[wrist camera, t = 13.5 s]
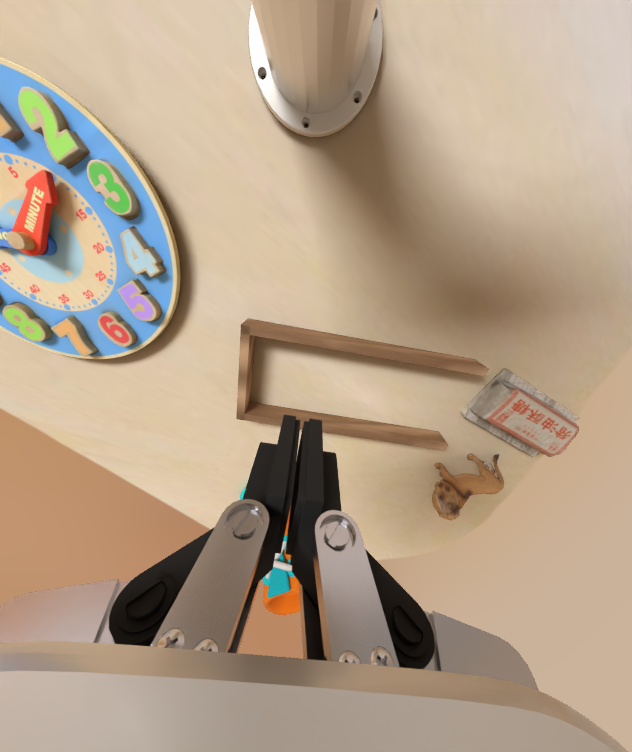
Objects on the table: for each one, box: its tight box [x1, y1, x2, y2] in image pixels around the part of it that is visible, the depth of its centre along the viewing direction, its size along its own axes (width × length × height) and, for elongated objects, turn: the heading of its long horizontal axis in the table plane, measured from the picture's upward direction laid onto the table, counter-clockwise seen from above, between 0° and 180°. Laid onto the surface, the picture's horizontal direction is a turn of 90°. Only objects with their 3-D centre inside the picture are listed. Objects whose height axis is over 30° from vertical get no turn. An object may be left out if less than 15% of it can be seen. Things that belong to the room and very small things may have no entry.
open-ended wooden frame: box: [237, 319, 489, 450], centre depth 39 cm, size 15×35×4 cm, turn 80°
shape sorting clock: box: [0, 58, 181, 359], centre depth 29 cm, size 31×30×6 cm
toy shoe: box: [240, 488, 300, 615], centre depth 47 cm, size 12×20×15 cm, turn 34°
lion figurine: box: [432, 454, 504, 520], centre depth 44 cm, size 15×5×9 cm, turn 118°
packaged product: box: [461, 369, 579, 457], centre depth 41 cm, size 18×5×10 cm
